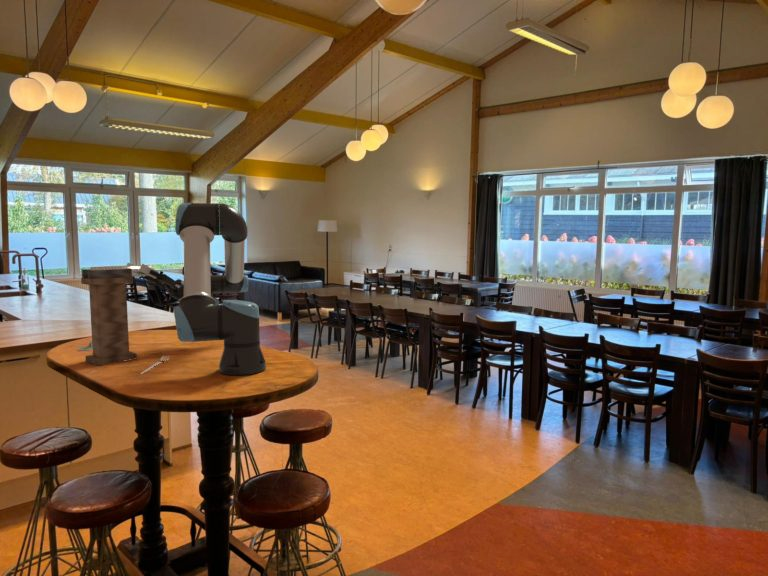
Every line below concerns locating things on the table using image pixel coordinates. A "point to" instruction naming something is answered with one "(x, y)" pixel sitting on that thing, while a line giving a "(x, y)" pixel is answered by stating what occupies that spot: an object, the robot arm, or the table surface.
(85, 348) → the metal bracket
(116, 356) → the walnut stand
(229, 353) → the robot arm
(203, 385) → the table surface
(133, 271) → the chrome rounded rod
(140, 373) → the fork
